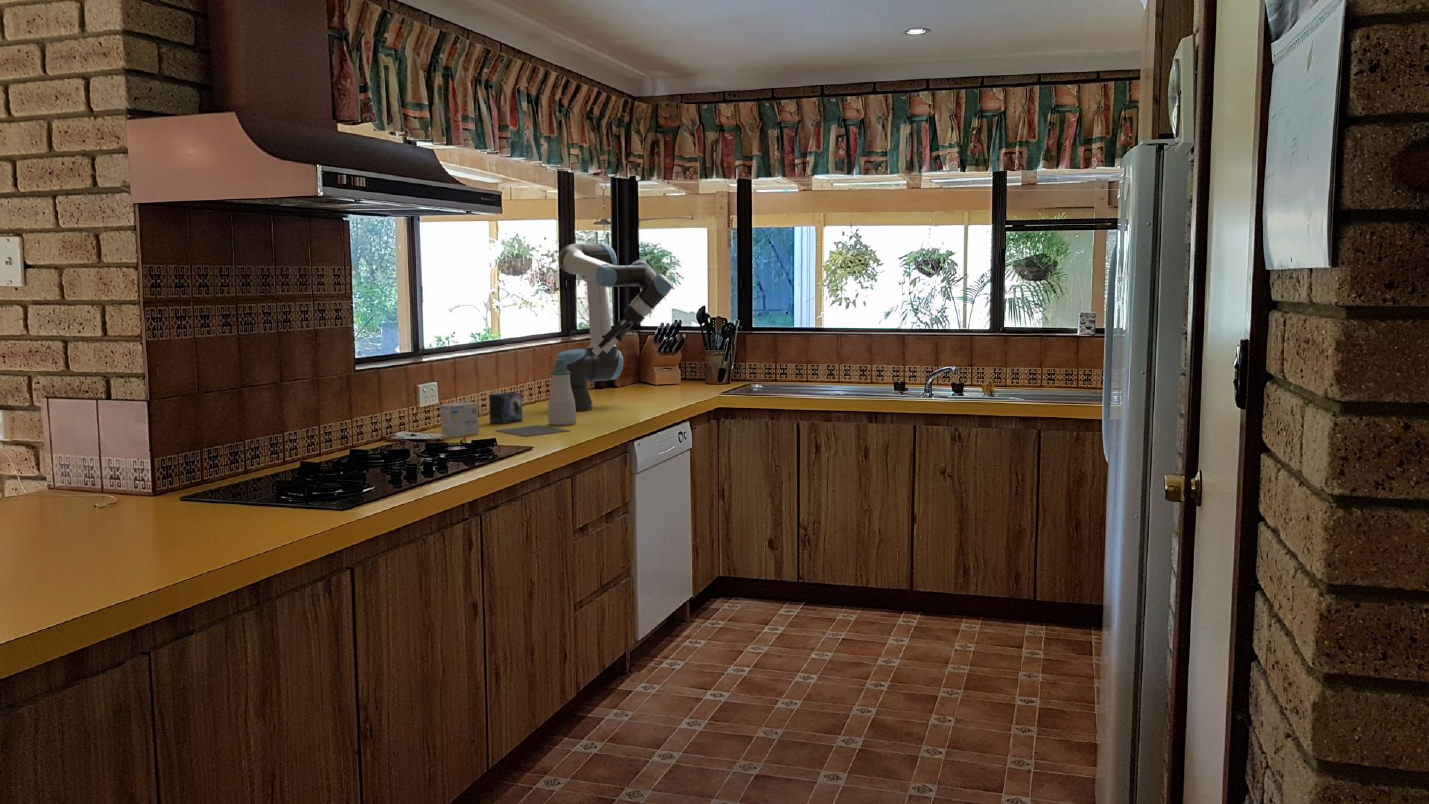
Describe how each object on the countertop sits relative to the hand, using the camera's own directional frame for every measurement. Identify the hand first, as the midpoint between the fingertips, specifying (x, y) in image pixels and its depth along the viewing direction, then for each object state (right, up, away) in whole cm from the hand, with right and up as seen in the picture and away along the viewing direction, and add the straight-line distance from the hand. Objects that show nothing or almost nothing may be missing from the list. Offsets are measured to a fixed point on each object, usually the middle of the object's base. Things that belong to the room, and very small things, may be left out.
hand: (599, 352), depth 393 cm
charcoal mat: (-20, -28, -29) cm, 45 cm away
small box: (-33, -26, -5) cm, 42 cm away
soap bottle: (-12, -26, -14) cm, 32 cm away
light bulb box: (-42, -30, -36) cm, 63 cm away
